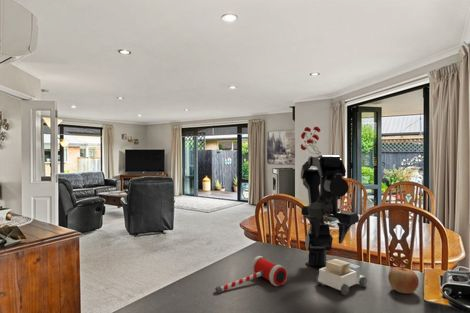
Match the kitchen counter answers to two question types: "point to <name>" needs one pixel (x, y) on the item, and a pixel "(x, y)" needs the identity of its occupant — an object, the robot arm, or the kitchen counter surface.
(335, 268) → the cream wooden cube
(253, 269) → the toy hammer
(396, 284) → the apple
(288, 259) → the kitchen counter surface
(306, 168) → the robot arm
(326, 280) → the toy truck
